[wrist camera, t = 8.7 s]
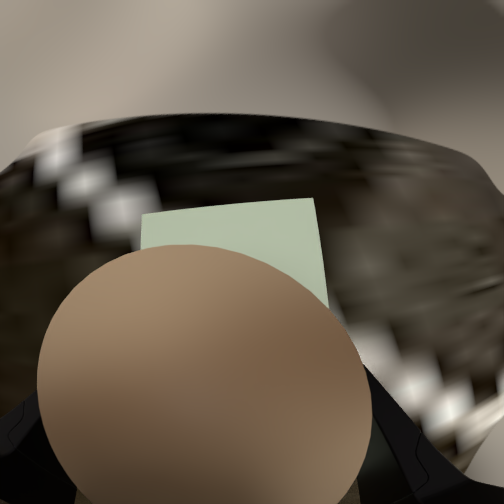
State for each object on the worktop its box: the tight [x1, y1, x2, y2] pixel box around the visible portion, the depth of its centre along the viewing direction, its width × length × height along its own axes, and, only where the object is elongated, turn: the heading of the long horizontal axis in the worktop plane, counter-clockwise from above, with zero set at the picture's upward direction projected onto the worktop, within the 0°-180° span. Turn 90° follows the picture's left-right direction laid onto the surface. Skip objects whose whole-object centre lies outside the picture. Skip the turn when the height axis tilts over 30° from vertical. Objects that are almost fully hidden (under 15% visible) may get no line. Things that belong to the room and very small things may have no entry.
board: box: [141, 198, 329, 309], centre depth 17 cm, size 20×12×1 cm, turn 5°
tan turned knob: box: [37, 244, 372, 504], centre depth 11 cm, size 7×7×13 cm
